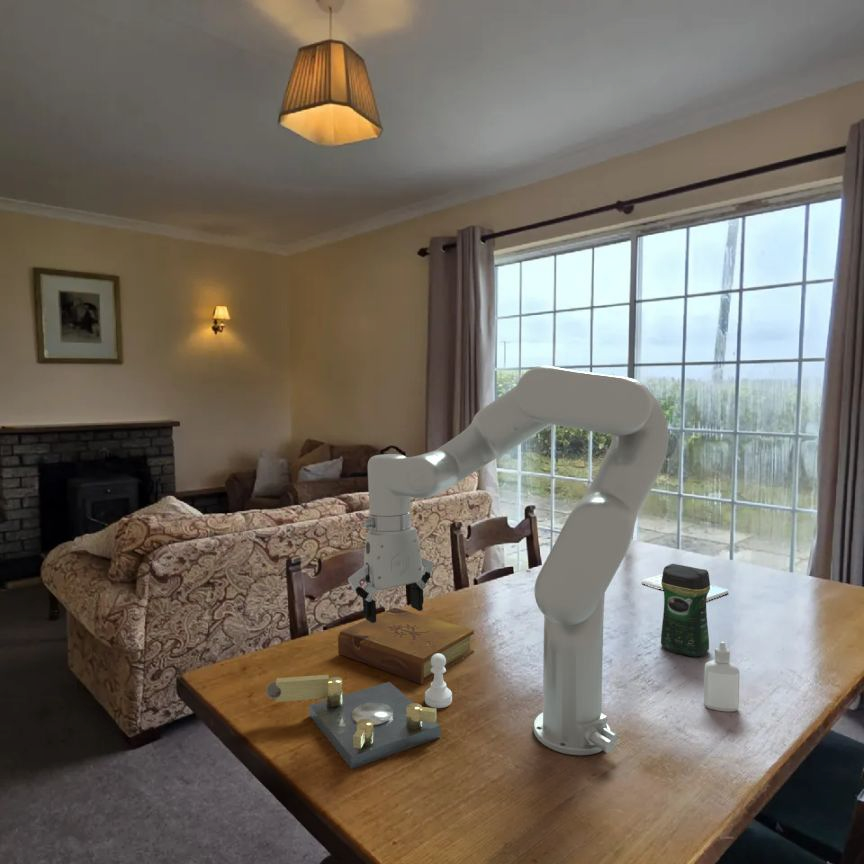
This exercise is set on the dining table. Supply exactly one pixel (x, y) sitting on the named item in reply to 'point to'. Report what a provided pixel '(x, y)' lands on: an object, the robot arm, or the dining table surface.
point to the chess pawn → (438, 684)
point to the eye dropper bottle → (721, 682)
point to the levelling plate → (375, 724)
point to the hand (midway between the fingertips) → (394, 614)
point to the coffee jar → (685, 610)
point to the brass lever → (307, 689)
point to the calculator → (712, 594)
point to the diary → (405, 643)
